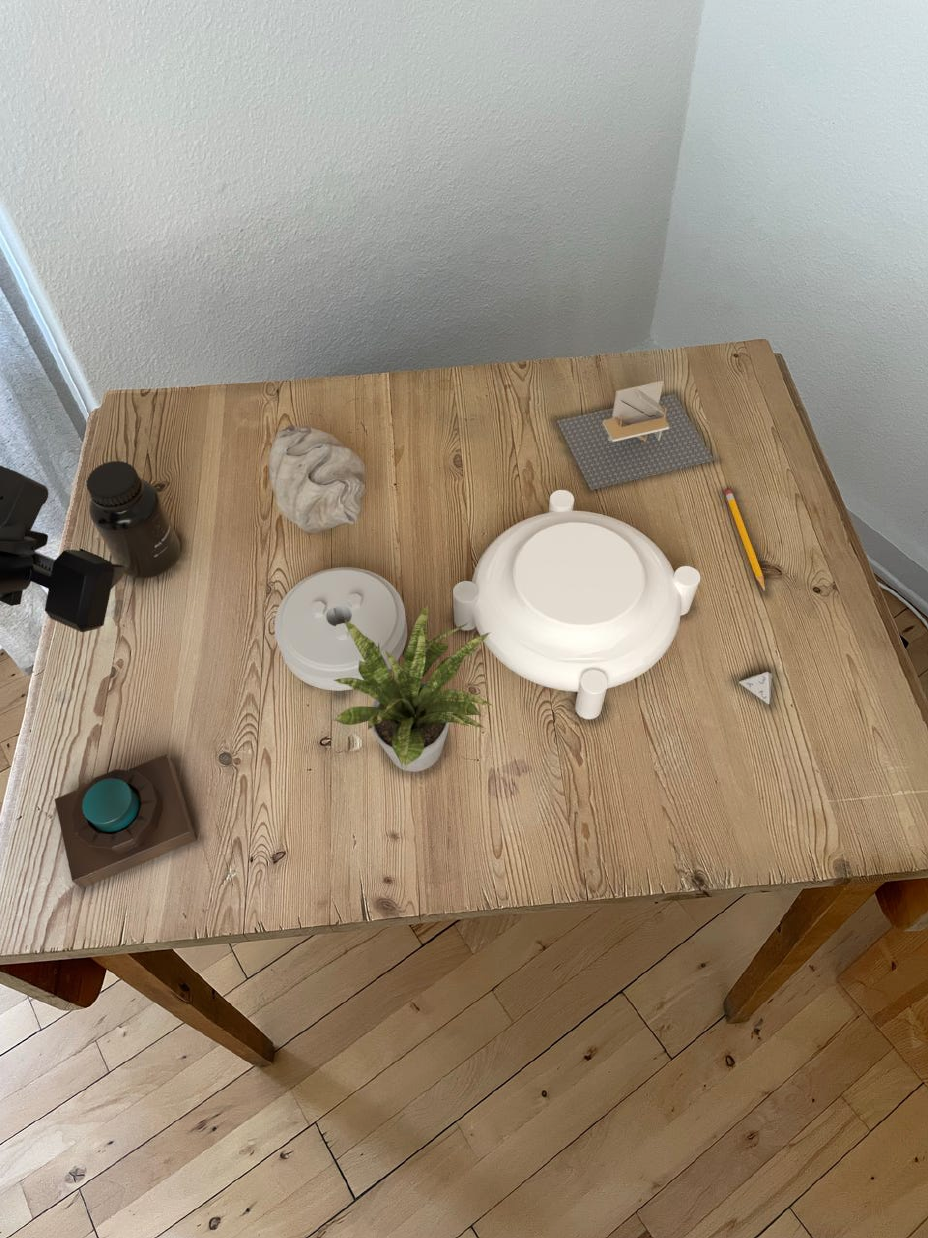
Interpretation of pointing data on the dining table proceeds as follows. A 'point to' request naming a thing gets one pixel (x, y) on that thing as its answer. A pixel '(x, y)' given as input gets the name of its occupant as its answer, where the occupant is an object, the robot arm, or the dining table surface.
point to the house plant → (411, 696)
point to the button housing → (143, 839)
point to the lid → (338, 624)
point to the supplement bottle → (132, 520)
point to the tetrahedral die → (759, 685)
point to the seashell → (315, 479)
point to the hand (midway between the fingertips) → (84, 554)
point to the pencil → (745, 538)
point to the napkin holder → (634, 438)
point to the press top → (110, 805)
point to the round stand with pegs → (575, 601)
